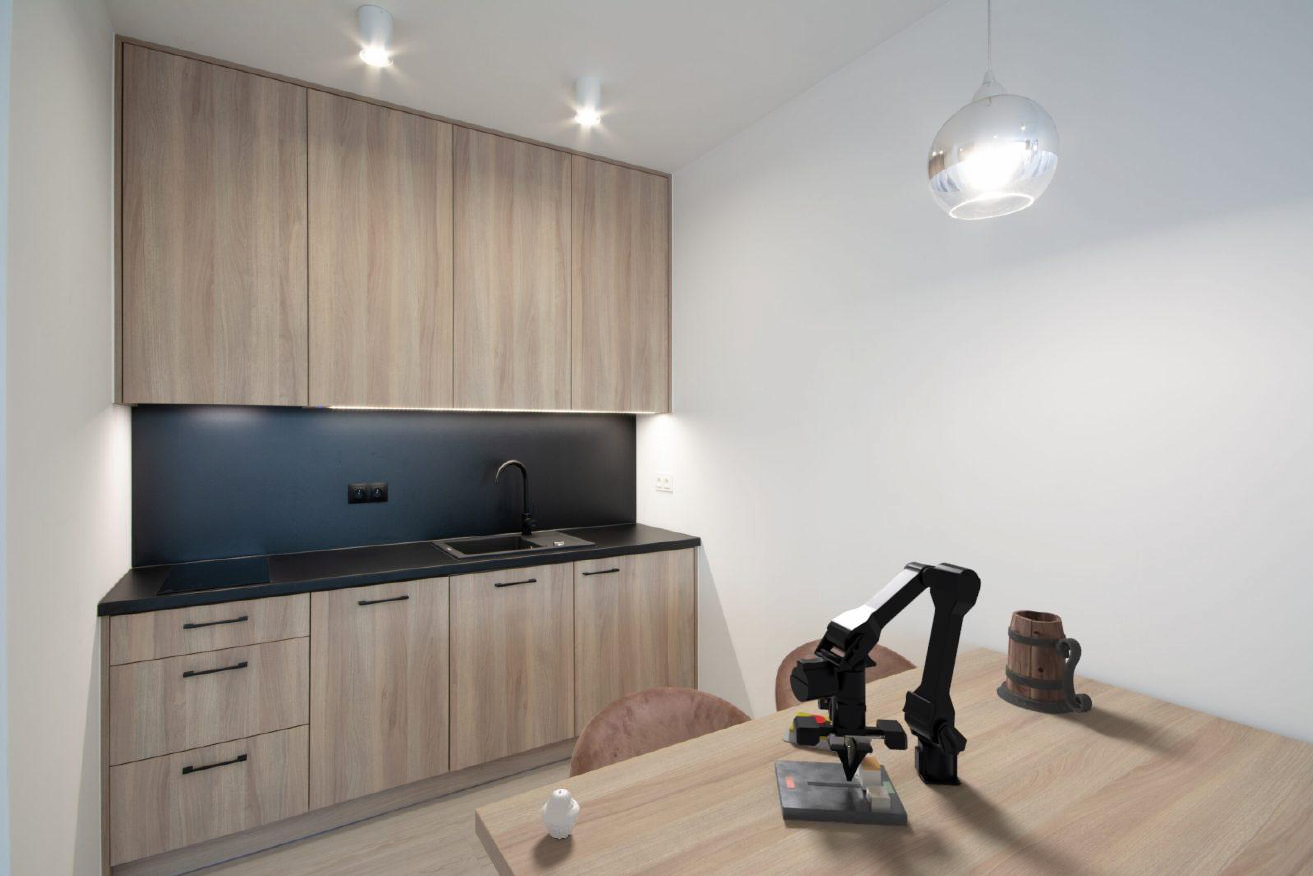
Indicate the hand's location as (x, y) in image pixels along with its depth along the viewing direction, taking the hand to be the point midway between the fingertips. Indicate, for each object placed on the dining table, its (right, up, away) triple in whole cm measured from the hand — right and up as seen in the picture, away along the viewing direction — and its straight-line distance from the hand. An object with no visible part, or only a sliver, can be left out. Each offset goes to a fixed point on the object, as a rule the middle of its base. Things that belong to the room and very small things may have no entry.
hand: (848, 780), depth 111 cm
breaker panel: (-2, -3, 0) cm, 4 cm away
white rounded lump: (-49, -4, -10) cm, 50 cm away
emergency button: (+1, -3, +21) cm, 21 cm away
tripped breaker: (+4, 0, 0) cm, 4 cm away
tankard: (+58, -2, +37) cm, 69 cm away
